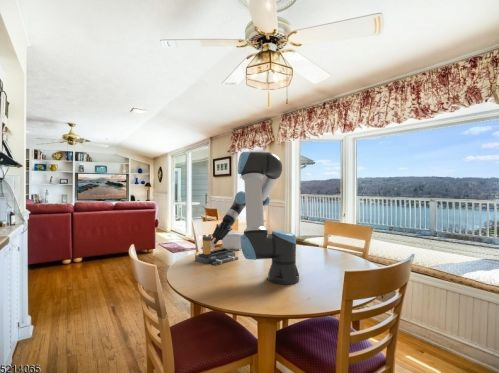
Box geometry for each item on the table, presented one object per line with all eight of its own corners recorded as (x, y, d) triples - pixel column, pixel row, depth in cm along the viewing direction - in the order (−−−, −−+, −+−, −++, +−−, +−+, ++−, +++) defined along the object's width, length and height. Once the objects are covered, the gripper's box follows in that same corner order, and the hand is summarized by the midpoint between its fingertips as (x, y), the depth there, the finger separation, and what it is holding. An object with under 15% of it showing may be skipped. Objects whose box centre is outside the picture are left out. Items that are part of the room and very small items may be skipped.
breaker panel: (222, 253, 184) (222, 247, 184) (235, 257, 176) (235, 250, 176) (195, 260, 168) (195, 253, 168) (208, 264, 160) (208, 257, 160)
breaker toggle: (207, 254, 170) (207, 235, 170) (211, 255, 167) (212, 236, 167) (201, 255, 167) (201, 236, 166) (206, 257, 164) (206, 237, 164)
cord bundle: (233, 257, 175) (233, 255, 175) (238, 259, 172) (238, 256, 172) (210, 263, 161) (210, 260, 161) (216, 265, 158) (216, 262, 158)
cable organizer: (245, 247, 205) (246, 231, 205) (242, 250, 194) (242, 233, 194) (226, 245, 208) (226, 230, 208) (221, 249, 198) (221, 232, 198)
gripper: (240, 222, 179) (220, 253, 166) (226, 220, 187) (206, 249, 175) (234, 214, 175) (214, 245, 162) (220, 213, 183) (199, 242, 171)
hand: (210, 247), depth 169 cm, fingers closed
